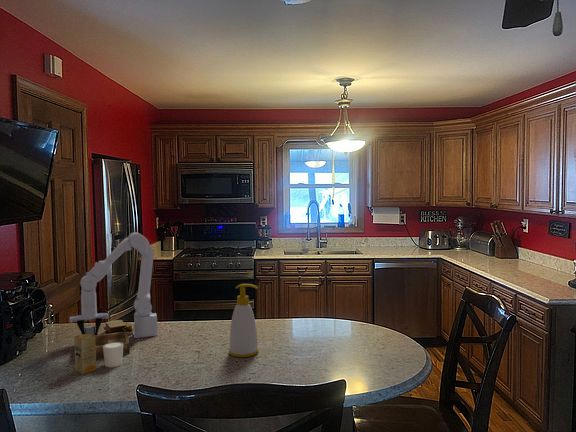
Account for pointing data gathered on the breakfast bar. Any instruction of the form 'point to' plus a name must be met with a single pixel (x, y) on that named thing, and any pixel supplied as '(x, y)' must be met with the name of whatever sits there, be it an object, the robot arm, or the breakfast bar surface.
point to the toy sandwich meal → (118, 327)
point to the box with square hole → (111, 338)
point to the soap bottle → (243, 327)
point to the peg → (90, 330)
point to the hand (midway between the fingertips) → (90, 337)
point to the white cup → (113, 354)
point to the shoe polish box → (85, 353)
